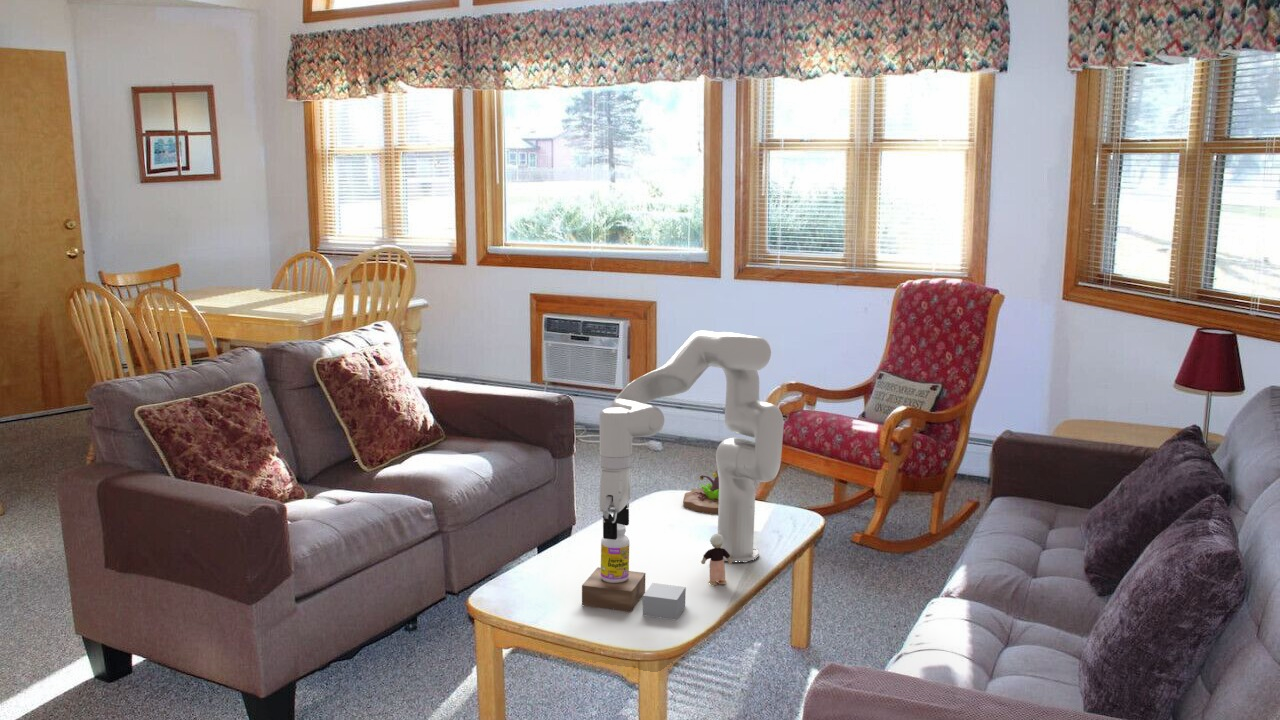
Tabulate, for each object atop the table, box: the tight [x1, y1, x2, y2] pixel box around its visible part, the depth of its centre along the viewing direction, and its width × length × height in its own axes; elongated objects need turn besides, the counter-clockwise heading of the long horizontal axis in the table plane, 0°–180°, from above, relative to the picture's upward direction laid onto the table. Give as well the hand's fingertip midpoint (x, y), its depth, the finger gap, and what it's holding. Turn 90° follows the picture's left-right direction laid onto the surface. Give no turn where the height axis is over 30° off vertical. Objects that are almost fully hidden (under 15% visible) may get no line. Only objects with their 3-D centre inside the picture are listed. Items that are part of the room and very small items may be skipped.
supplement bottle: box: [600, 524, 630, 583], centre depth 249 cm, size 7×7×13 cm
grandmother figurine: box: [700, 533, 733, 586], centre depth 260 cm, size 8×4×13 cm, turn 111°
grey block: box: [642, 582, 687, 621], centre depth 244 cm, size 8×8×5 cm
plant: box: [682, 470, 719, 515], centre depth 324 cm, size 20×20×11 cm
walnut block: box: [581, 567, 646, 613], centre depth 250 cm, size 12×12×5 cm
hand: (616, 531), depth 248 cm, fingers open, 9 cm apart
